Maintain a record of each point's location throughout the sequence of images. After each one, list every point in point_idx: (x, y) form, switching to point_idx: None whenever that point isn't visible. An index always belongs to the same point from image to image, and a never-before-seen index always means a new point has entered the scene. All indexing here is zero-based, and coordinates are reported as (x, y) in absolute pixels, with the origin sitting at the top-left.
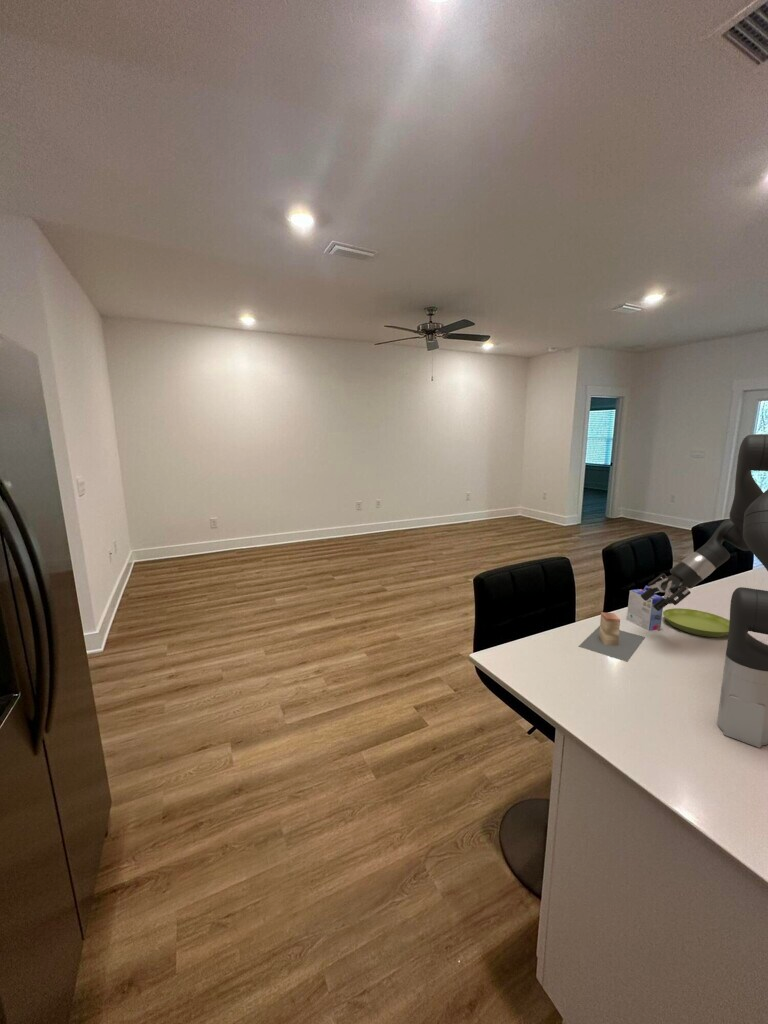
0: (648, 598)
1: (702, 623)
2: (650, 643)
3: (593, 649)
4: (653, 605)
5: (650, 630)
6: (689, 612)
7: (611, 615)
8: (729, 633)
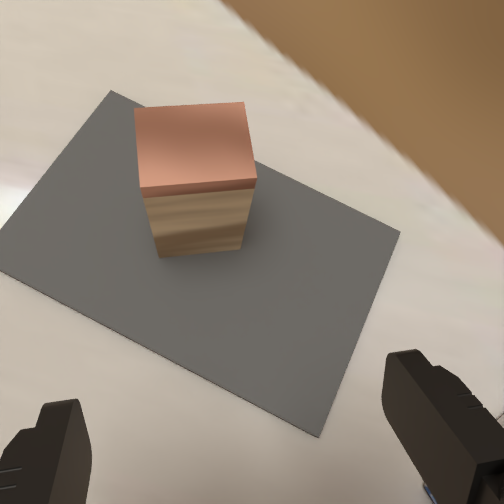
0: (403, 440)
1: None
2: (259, 450)
3: (91, 142)
4: (58, 401)
5: (433, 498)
6: None
7: (202, 150)
8: None
